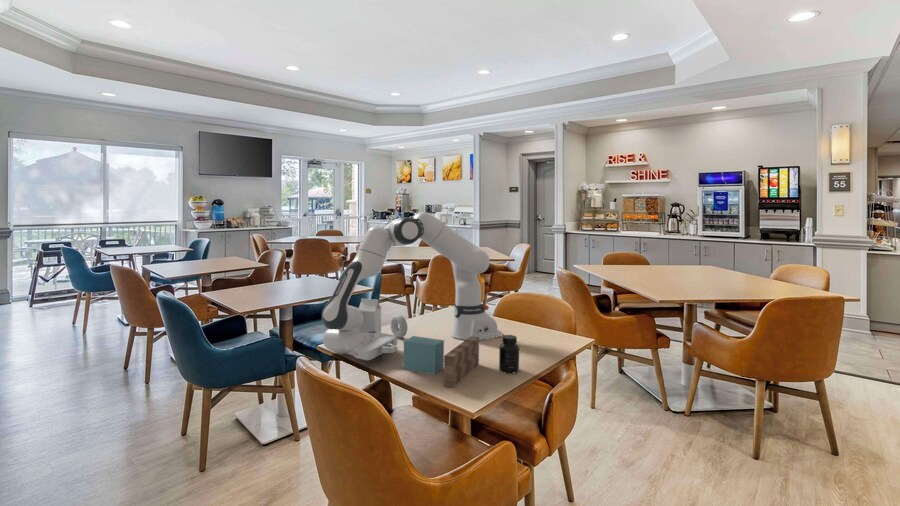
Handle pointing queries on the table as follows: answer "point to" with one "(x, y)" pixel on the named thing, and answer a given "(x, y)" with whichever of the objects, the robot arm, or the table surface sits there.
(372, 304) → the milk carton
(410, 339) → the teal block
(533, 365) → the table surface
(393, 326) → the donut
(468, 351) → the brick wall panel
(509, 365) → the supplement bottle
